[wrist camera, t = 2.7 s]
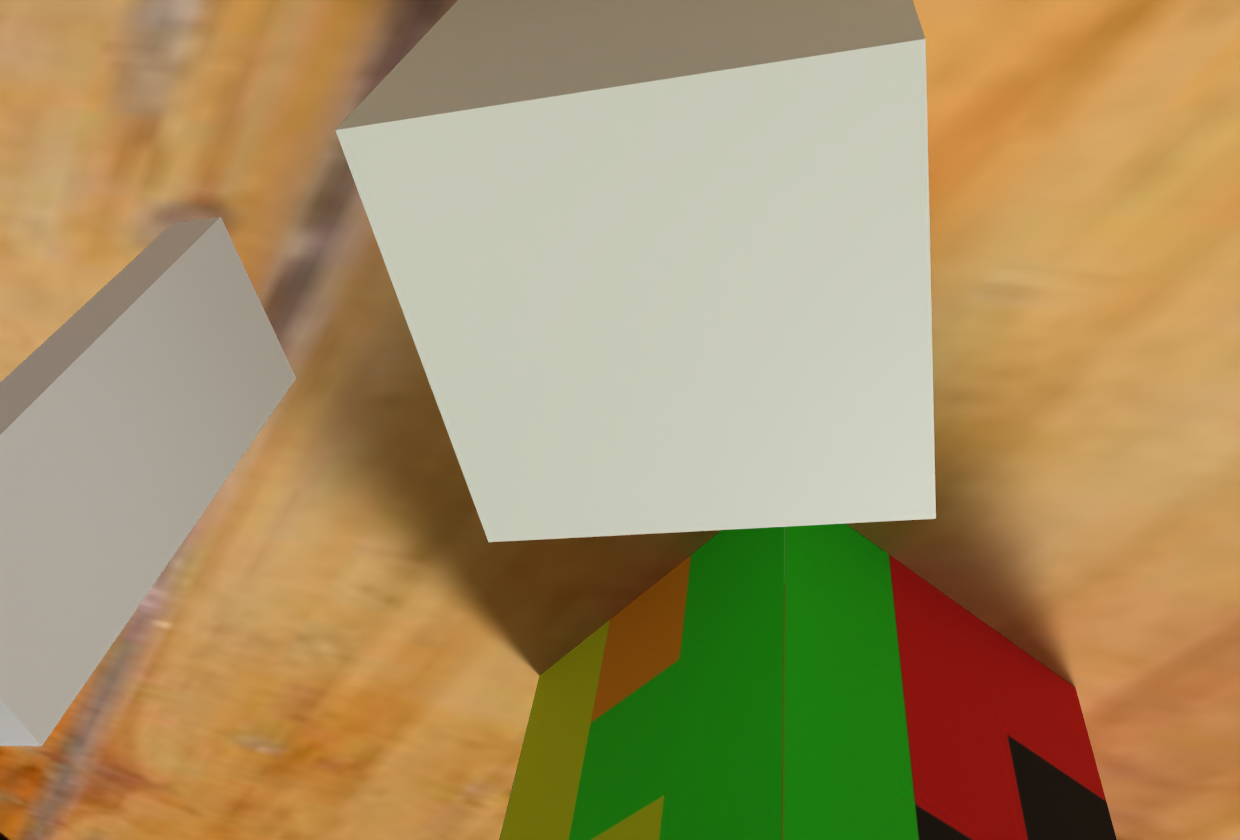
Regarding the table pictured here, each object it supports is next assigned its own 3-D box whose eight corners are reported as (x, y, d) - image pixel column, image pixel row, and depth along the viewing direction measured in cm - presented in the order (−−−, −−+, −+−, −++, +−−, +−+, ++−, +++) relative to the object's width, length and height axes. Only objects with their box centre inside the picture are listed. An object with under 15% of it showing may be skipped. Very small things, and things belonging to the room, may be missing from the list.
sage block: (582, 265, 20) (488, 542, 14) (504, -50, 17) (336, 130, 11) (888, 231, 19) (935, 518, 13) (872, -120, 16) (925, 39, 9)
